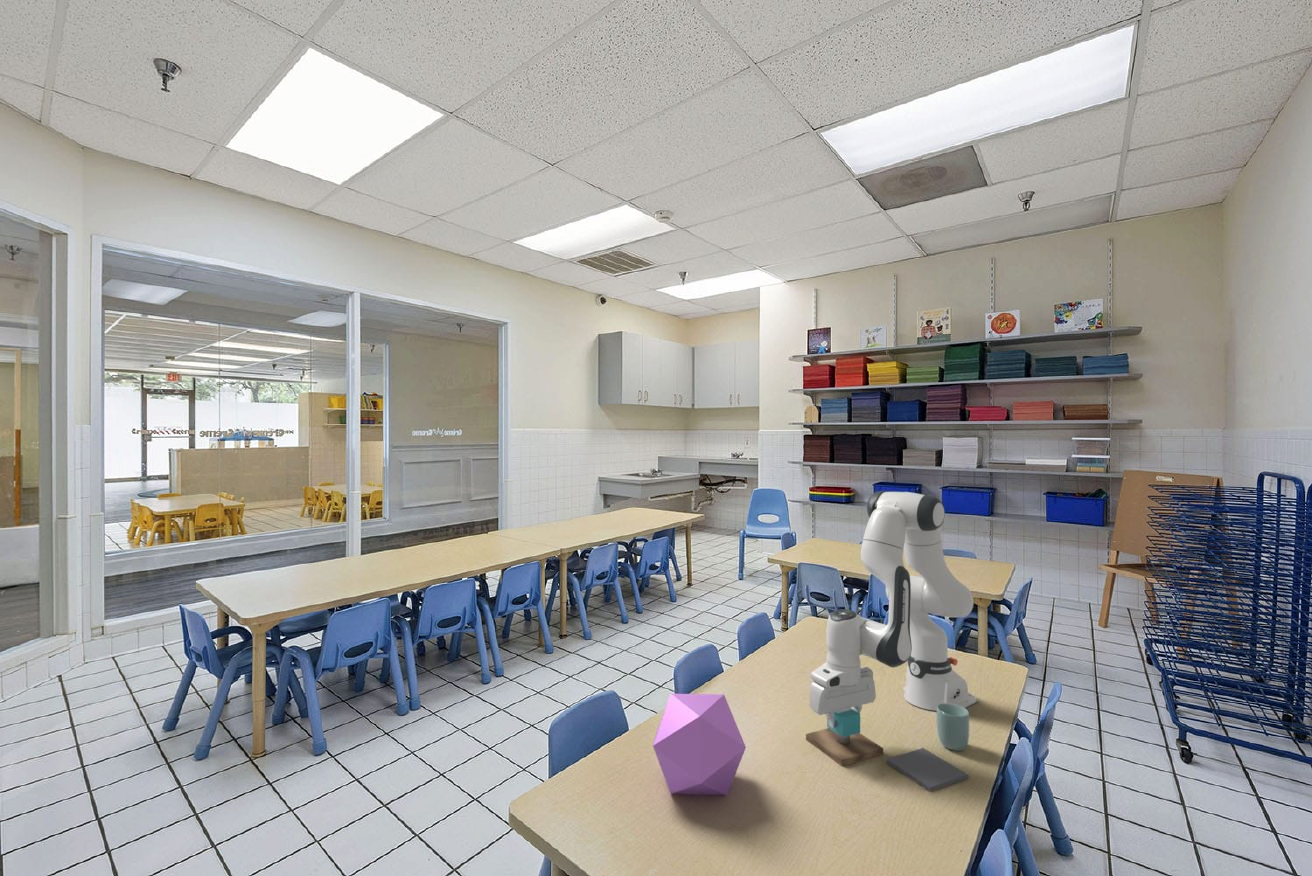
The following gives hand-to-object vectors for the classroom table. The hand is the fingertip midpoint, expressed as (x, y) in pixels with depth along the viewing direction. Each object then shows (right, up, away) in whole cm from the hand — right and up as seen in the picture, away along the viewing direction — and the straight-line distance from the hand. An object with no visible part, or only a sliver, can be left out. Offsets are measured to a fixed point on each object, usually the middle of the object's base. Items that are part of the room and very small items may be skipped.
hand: (843, 723), depth 150 cm
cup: (+30, -6, 0) cm, 30 cm away
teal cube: (0, -2, 0) cm, 2 cm away
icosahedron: (-41, -6, -17) cm, 44 cm away
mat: (+17, -6, -11) cm, 21 cm away
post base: (0, -6, 0) cm, 6 cm away
